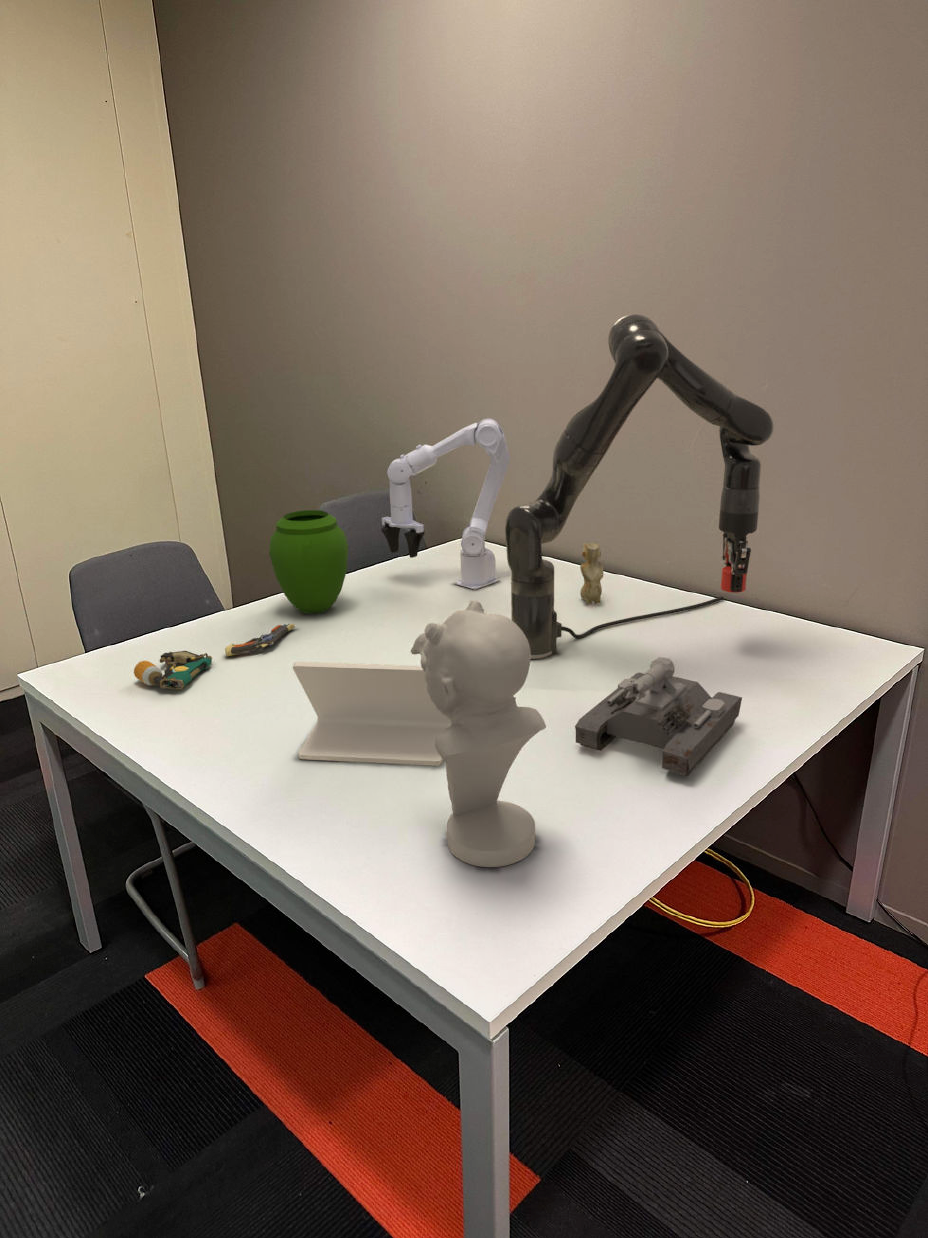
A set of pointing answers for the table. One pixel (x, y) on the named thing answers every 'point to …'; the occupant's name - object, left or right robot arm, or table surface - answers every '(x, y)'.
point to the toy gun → (259, 640)
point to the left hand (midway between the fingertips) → (403, 554)
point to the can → (727, 580)
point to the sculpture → (591, 574)
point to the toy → (661, 717)
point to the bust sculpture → (481, 729)
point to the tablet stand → (370, 713)
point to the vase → (309, 559)
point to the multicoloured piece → (172, 669)
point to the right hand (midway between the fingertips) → (732, 586)
